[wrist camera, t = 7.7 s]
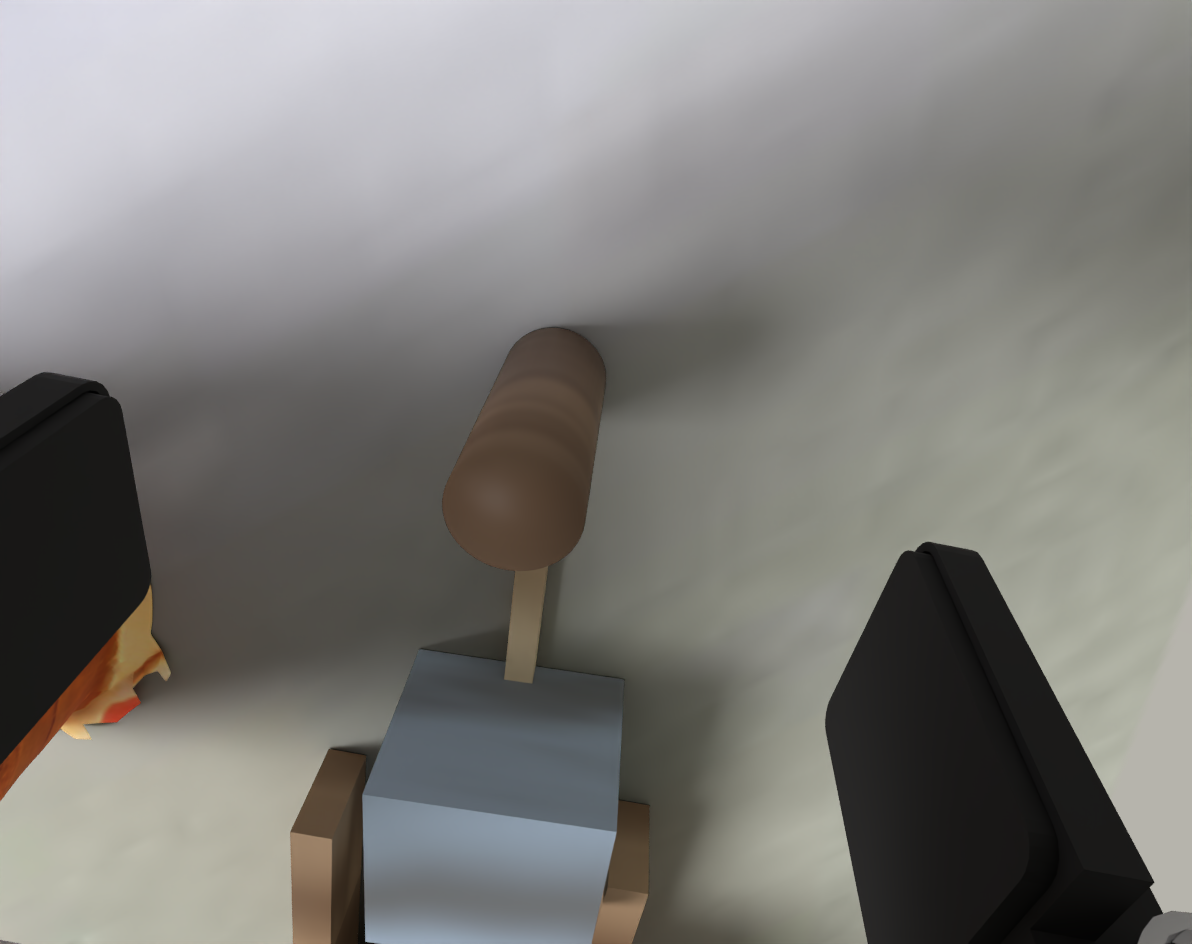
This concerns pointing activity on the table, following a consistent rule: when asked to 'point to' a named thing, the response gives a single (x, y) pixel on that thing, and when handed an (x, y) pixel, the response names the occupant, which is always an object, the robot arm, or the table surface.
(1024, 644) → the robot arm
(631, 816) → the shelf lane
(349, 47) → the table surface
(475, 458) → the knob-handled block
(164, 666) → the vessel
